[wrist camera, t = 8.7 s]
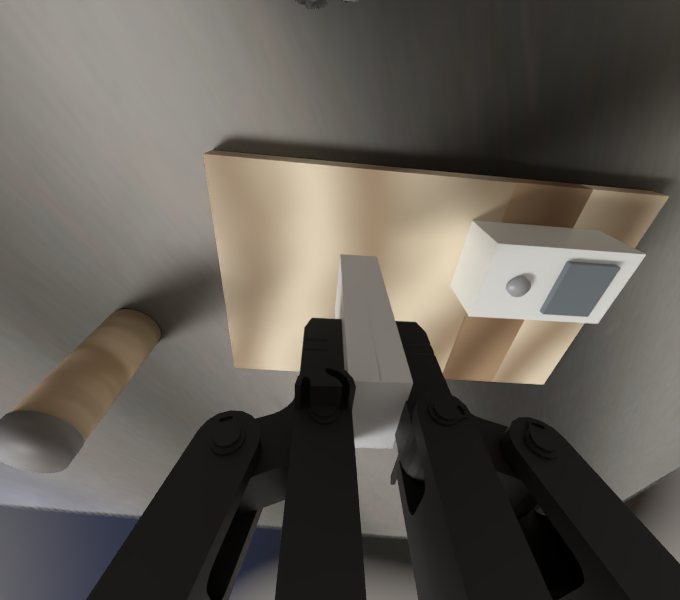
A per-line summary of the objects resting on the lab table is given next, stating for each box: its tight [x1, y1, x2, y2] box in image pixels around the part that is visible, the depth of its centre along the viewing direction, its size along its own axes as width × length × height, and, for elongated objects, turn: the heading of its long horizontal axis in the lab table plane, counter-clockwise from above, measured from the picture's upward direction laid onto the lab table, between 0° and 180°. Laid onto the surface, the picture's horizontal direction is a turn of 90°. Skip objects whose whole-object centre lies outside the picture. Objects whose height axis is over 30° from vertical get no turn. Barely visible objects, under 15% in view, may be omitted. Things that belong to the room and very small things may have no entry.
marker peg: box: [0, 309, 161, 473], centre depth 18 cm, size 4×4×9 cm
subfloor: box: [203, 150, 669, 384], centre depth 19 cm, size 23×14×1 cm, turn 85°
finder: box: [450, 220, 646, 324], centre depth 16 cm, size 7×4×3 cm, turn 85°
